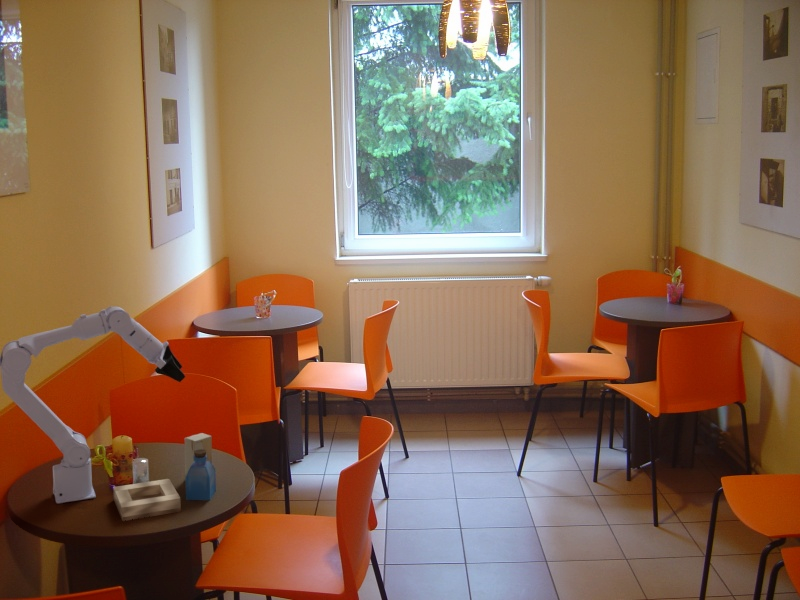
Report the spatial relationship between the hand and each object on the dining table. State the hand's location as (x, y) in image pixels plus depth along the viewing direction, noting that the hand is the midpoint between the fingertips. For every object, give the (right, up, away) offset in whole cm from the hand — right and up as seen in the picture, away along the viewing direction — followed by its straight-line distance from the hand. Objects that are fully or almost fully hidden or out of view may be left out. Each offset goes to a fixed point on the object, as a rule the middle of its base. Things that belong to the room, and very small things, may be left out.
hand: (181, 374), depth 228 cm
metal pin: (-11, -30, 0) cm, 32 cm away
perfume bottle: (+7, -31, -6) cm, 33 cm away
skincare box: (+4, -29, +5) cm, 30 cm away
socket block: (-5, -32, -13) cm, 35 cm away
